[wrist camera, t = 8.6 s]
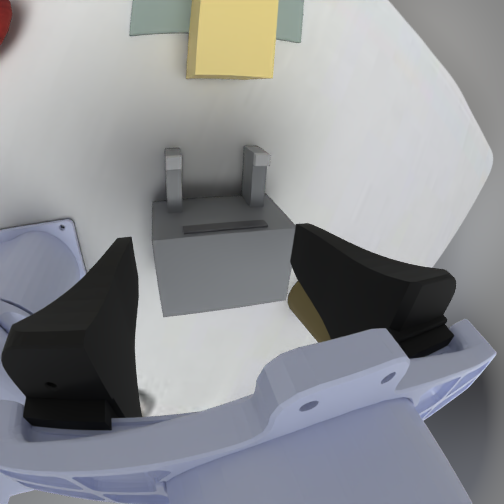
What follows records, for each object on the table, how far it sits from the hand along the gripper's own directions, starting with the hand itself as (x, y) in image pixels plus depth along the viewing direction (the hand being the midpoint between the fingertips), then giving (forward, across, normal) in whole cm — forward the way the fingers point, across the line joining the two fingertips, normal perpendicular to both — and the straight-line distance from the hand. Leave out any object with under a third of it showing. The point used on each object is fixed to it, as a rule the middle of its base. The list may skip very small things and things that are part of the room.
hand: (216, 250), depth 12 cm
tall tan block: (+10, -1, -11) cm, 15 cm away
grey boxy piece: (+10, -1, +3) cm, 11 cm away
